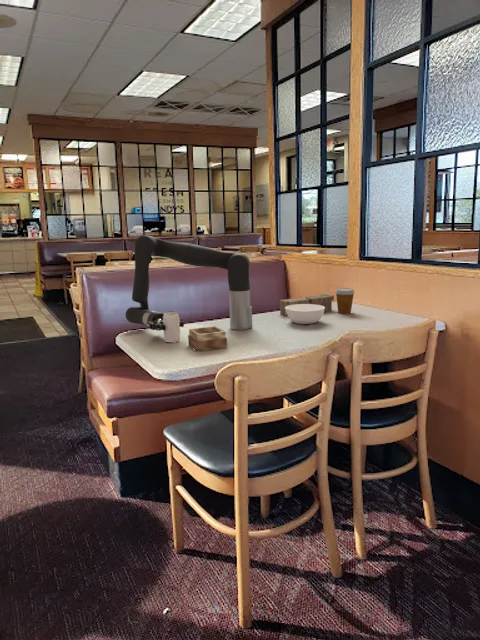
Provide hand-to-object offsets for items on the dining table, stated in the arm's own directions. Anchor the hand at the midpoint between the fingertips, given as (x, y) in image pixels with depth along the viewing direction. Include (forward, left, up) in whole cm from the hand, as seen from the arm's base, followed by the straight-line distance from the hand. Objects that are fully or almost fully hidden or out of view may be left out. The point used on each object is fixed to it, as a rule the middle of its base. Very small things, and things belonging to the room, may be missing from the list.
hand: (173, 326), depth 196 cm
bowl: (-64, -7, -7) cm, 65 cm away
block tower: (-78, -28, -7) cm, 83 cm away
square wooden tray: (-9, +13, -3) cm, 16 cm away
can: (+1, -2, -7) cm, 7 cm away
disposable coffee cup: (-93, -17, -7) cm, 95 cm away
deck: (-9, +13, -7) cm, 18 cm away
